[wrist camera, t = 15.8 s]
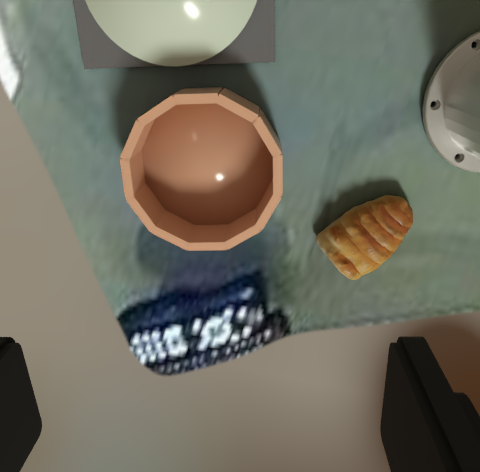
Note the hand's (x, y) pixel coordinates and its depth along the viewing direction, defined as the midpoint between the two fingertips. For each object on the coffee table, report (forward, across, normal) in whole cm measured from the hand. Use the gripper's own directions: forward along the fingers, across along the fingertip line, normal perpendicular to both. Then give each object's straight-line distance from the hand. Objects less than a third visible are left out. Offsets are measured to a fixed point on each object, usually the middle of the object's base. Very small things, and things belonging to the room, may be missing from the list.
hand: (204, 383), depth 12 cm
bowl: (+34, +4, +3) cm, 35 cm away
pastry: (+35, -11, +11) cm, 38 cm away
